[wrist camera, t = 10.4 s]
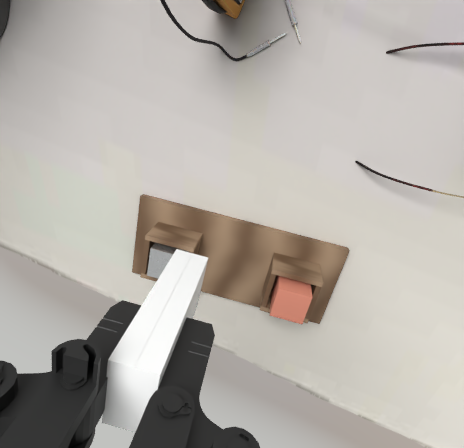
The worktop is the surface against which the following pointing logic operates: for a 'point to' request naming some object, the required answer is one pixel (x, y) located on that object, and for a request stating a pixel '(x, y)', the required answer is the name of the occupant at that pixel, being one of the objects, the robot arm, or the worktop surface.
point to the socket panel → (239, 254)
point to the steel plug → (159, 259)
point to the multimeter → (231, 4)
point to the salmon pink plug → (290, 299)
